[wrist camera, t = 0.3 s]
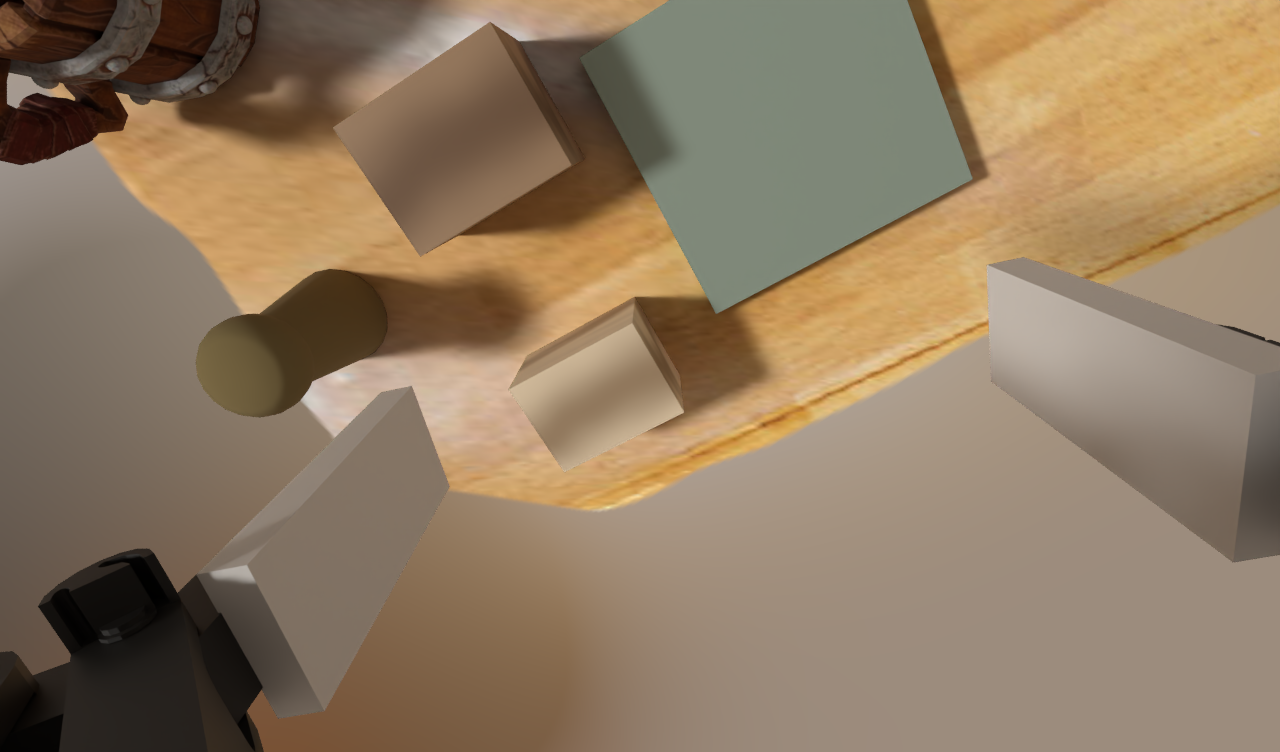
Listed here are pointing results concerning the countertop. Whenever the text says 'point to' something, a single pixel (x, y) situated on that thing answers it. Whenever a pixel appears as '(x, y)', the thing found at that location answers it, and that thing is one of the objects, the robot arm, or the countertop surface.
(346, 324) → the olive pepper shaker
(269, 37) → the countertop surface
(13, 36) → the mug
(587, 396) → the maple cap block
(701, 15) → the baseplate
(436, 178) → the walnut brick
